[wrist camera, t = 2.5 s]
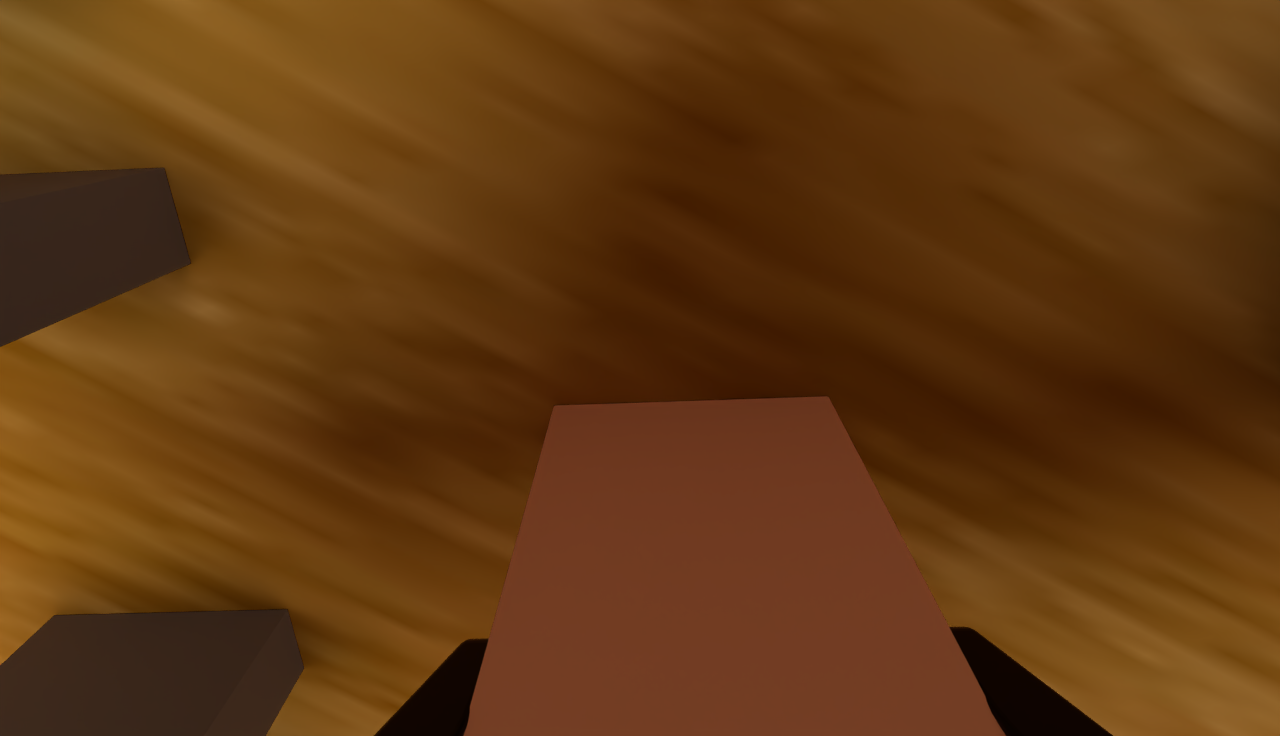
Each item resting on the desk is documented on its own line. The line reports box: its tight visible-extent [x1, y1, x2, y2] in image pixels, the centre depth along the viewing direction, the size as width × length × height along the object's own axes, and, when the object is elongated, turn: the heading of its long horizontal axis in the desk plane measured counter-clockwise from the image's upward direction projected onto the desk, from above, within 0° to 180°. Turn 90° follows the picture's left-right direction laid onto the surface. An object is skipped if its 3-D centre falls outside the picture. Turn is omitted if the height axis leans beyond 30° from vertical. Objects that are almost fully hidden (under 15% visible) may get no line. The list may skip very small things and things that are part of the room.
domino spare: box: [463, 396, 1006, 736], centre depth 10 cm, size 5×2×8 cm, turn 92°
